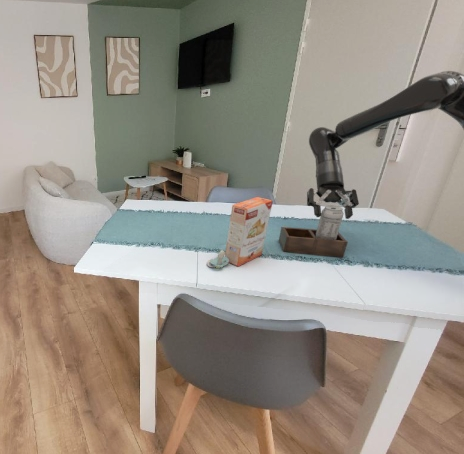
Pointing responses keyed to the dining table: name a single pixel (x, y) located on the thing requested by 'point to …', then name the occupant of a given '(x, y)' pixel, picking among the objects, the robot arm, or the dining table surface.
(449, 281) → the dining table surface
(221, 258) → the pacifier
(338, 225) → the energy drink can
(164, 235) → the dining table surface
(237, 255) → the cracker box
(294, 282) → the dining table surface
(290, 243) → the wooden box with compartments
